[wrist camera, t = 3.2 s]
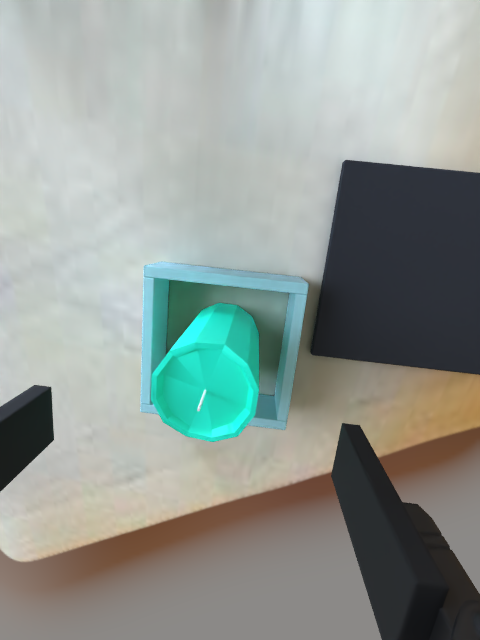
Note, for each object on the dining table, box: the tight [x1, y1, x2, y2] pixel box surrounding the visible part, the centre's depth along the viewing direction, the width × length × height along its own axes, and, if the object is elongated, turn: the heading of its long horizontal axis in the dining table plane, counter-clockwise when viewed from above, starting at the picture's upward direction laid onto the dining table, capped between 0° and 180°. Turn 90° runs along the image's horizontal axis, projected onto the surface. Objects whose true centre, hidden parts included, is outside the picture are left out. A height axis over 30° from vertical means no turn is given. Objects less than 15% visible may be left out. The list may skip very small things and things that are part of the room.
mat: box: [310, 160, 480, 375], centre depth 24 cm, size 17×15×1 cm
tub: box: [141, 262, 309, 430], centre depth 25 cm, size 12×12×4 cm
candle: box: [151, 303, 259, 442], centre depth 21 cm, size 6×6×12 cm
